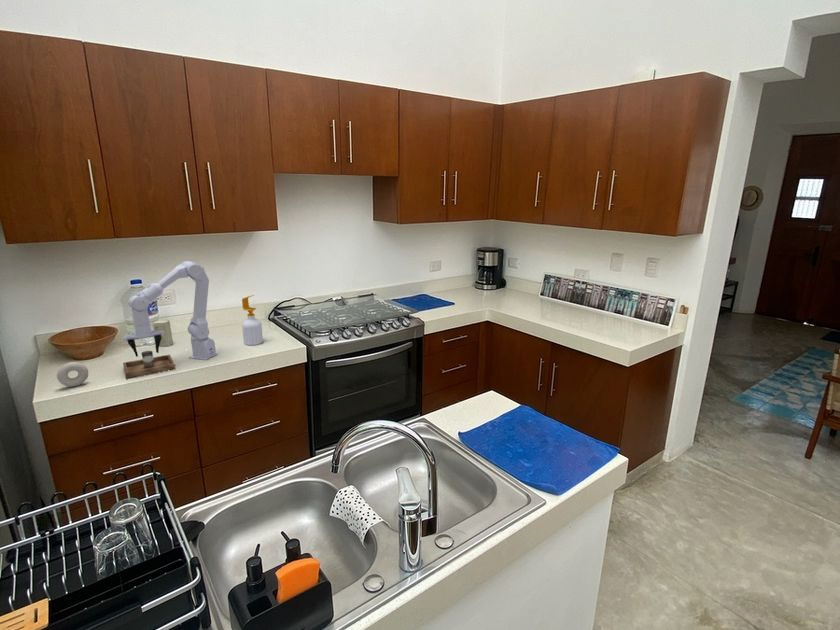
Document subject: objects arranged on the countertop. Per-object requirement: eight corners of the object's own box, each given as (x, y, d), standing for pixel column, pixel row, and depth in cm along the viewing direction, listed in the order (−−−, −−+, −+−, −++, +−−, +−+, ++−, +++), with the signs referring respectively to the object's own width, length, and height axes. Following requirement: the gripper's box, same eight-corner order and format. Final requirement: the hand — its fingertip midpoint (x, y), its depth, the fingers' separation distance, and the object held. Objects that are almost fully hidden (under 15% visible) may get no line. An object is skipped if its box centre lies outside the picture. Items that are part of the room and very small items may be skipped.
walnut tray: (170, 359, 207) (169, 354, 207) (175, 369, 196) (174, 364, 196) (123, 368, 197) (122, 362, 196) (126, 379, 186) (125, 373, 186)
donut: (60, 391, 175) (54, 367, 172) (59, 388, 178) (53, 364, 175) (91, 383, 182) (86, 360, 179) (90, 381, 184) (85, 358, 181)
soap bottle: (255, 346, 225) (250, 298, 218) (240, 344, 228) (235, 296, 221) (266, 340, 233) (262, 294, 226) (252, 338, 236) (247, 292, 229)
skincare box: (173, 343, 228) (170, 320, 225) (169, 346, 224) (165, 322, 221) (160, 343, 228) (157, 320, 225) (156, 346, 224) (152, 322, 220)
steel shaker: (157, 366, 198) (154, 351, 196) (149, 369, 194) (146, 354, 192) (149, 365, 199) (147, 350, 197) (141, 368, 195) (139, 353, 194)
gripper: (160, 318, 198) (165, 347, 202) (121, 324, 190) (126, 354, 194) (162, 322, 193) (167, 352, 197) (122, 328, 185) (128, 359, 188)
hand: (147, 354), depth 195 cm, fingers open, 7 cm apart
